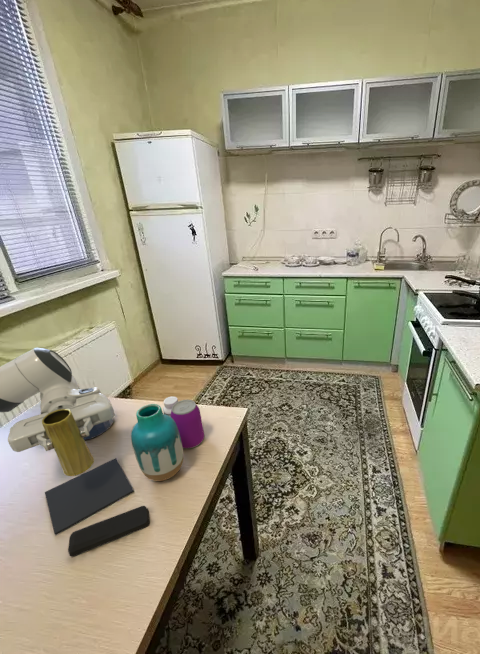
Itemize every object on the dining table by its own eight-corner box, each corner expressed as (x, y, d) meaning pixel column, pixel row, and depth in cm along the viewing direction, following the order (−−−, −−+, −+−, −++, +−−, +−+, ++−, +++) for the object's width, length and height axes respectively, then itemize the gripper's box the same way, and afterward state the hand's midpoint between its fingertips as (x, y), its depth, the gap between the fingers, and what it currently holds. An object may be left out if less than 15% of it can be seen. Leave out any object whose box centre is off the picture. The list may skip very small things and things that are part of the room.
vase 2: (136, 470, 82) (116, 409, 74) (176, 450, 88) (162, 391, 80) (152, 496, 75) (132, 432, 66) (194, 472, 81) (180, 411, 73)
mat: (55, 535, 67) (54, 533, 67) (45, 493, 77) (44, 492, 76) (134, 491, 77) (133, 490, 76) (116, 459, 86) (116, 457, 86)
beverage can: (194, 453, 87) (186, 418, 82) (171, 446, 90) (162, 411, 84) (210, 435, 94) (204, 401, 88) (188, 429, 96) (181, 395, 91)
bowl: (69, 448, 90) (64, 436, 88) (61, 426, 99) (55, 414, 97) (119, 427, 98) (115, 415, 96) (107, 408, 107) (103, 396, 105)
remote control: (148, 509, 73) (70, 537, 67) (147, 503, 72) (68, 531, 66) (150, 527, 69) (68, 558, 63) (149, 521, 68) (65, 552, 62)
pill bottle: (172, 417, 101) (166, 394, 97) (187, 418, 100) (182, 395, 96) (163, 429, 96) (157, 404, 92) (180, 430, 96) (174, 405, 92)
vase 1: (61, 480, 70) (35, 429, 64) (66, 461, 75) (42, 412, 69) (93, 471, 72) (71, 420, 66) (95, 452, 77) (75, 404, 71)
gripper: (4, 415, 73) (-1, 451, 63) (104, 384, 83) (114, 411, 73) (16, 436, 76) (13, 474, 65) (111, 404, 86) (121, 432, 76)
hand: (67, 440), depth 69 cm, fingers closed on vase 1, 5 cm apart
